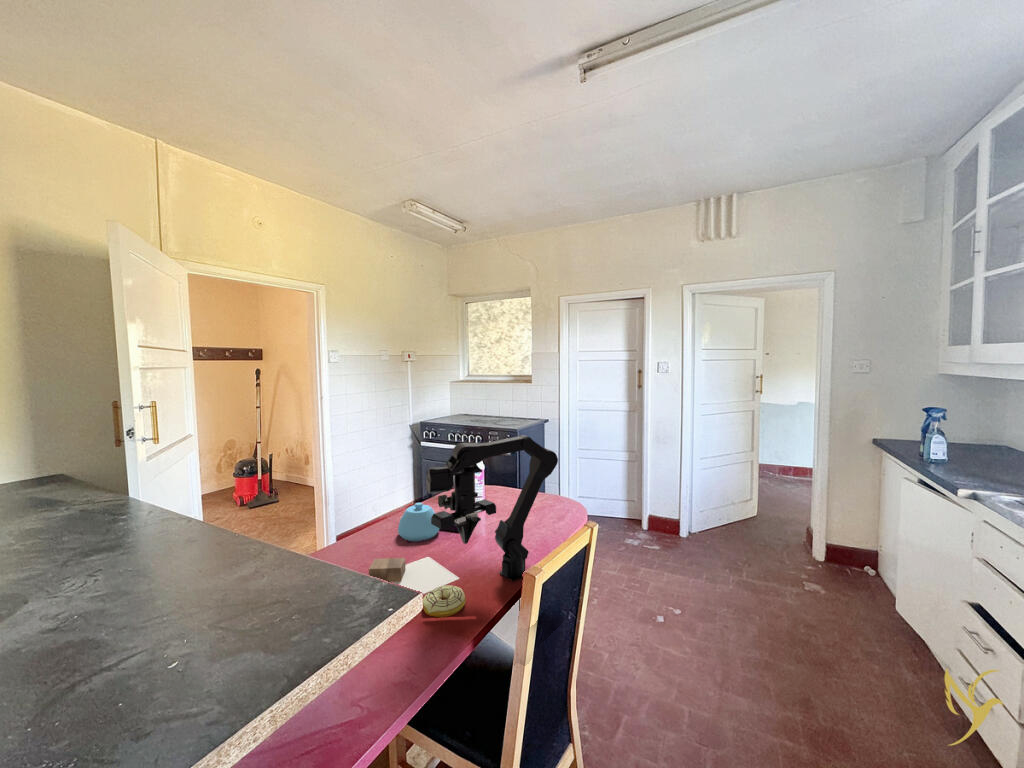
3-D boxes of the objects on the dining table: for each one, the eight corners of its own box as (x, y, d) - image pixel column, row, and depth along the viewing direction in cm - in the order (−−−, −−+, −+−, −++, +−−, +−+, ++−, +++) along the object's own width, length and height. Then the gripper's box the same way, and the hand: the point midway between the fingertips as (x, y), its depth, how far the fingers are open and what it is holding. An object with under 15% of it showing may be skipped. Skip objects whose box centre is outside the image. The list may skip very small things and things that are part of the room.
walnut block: (405, 557, 120) (374, 558, 120) (400, 567, 114) (368, 569, 114) (405, 570, 120) (375, 571, 120) (401, 581, 114) (369, 582, 114)
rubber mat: (428, 558, 129) (428, 556, 129) (459, 580, 116) (459, 578, 116) (380, 575, 119) (380, 573, 119) (409, 602, 105) (409, 600, 105)
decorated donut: (420, 601, 106) (419, 587, 106) (459, 592, 110) (459, 579, 110) (426, 625, 96) (426, 609, 96) (469, 614, 100) (469, 600, 100)
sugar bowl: (416, 547, 138) (415, 513, 137) (389, 536, 147) (389, 505, 146) (448, 532, 150) (447, 502, 149) (421, 523, 159) (421, 494, 158)
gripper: (474, 476, 125) (475, 525, 125) (420, 489, 112) (421, 543, 113) (497, 484, 116) (497, 537, 117) (441, 498, 104) (442, 557, 105)
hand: (465, 543), depth 113 cm, fingers closed
